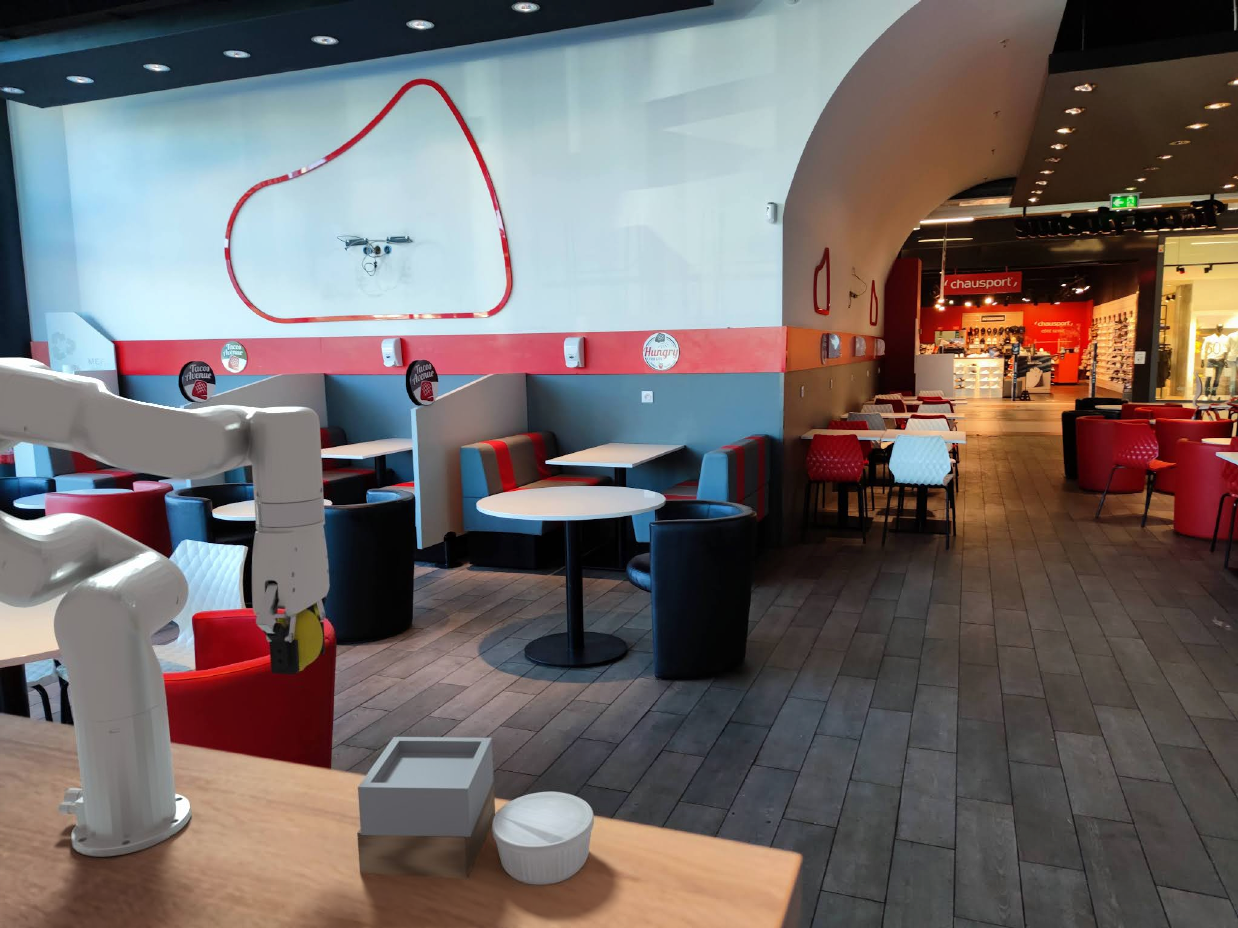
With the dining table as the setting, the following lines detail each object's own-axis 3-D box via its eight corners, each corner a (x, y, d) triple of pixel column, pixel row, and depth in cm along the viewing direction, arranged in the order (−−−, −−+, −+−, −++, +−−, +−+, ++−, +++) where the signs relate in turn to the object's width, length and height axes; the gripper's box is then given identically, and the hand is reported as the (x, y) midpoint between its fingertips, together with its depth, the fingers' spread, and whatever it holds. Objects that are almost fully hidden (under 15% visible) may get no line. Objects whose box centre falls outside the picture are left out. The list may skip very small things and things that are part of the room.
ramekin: (485, 892, 90) (483, 845, 90) (502, 832, 101) (500, 790, 101) (591, 892, 90) (590, 845, 89) (597, 832, 101) (596, 790, 100)
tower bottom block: (360, 875, 94) (357, 832, 93) (400, 816, 106) (398, 777, 105) (466, 881, 93) (464, 838, 92) (495, 820, 104) (493, 782, 104)
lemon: (308, 681, 99) (304, 614, 98) (265, 677, 100) (261, 611, 99) (333, 663, 105) (330, 600, 103) (292, 660, 106) (288, 597, 105)
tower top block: (360, 834, 93) (357, 786, 92) (396, 779, 105) (393, 736, 104) (470, 836, 92) (468, 788, 92) (493, 780, 104) (491, 737, 103)
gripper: (296, 500, 109) (304, 637, 111) (216, 528, 92) (228, 689, 94) (353, 501, 108) (359, 639, 110) (282, 529, 91) (292, 693, 93)
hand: (299, 661), depth 102 cm, fingers closed on lemon, 5 cm apart
